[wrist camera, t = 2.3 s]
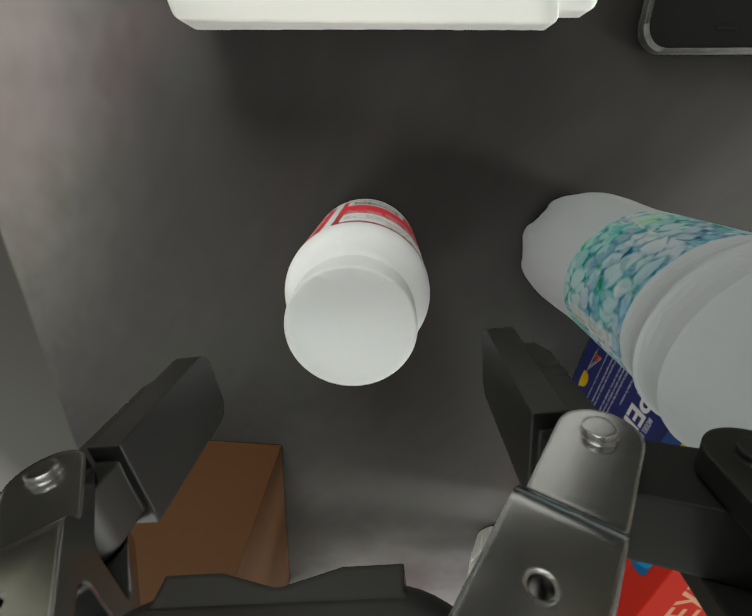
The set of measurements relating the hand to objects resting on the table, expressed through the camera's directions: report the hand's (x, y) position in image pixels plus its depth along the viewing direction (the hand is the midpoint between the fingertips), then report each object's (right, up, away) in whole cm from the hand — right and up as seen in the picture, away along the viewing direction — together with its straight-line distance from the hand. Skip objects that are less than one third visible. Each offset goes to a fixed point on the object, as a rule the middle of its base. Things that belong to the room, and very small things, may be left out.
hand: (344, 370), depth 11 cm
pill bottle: (0, +6, +12) cm, 13 cm away
